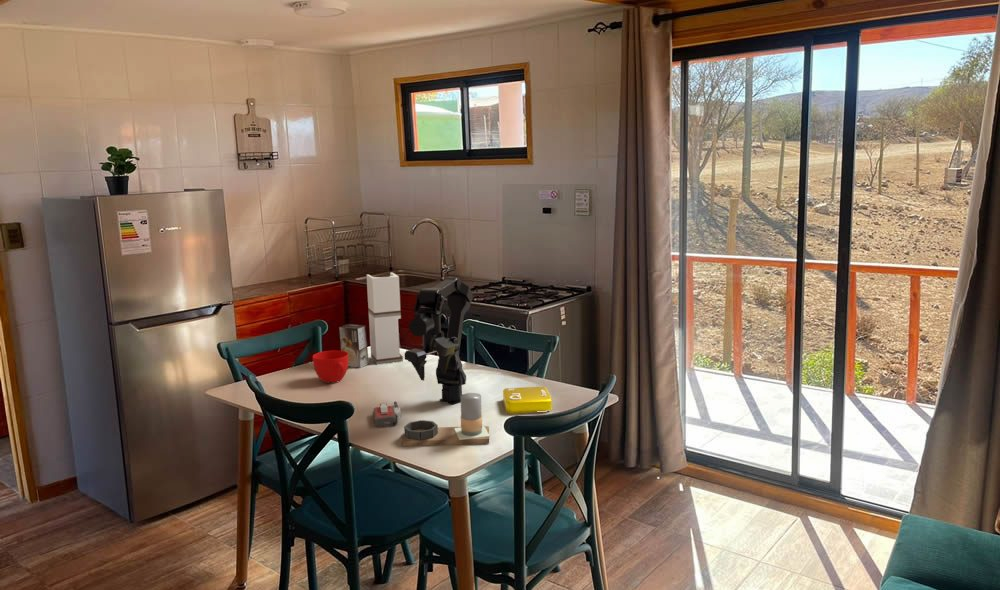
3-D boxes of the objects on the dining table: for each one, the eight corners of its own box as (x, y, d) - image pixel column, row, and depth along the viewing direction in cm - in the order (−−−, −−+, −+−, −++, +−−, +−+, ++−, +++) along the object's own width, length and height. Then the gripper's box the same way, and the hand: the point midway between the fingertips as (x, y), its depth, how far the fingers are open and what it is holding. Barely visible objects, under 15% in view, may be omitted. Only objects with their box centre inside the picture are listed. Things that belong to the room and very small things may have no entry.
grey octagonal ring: (422, 425, 223) (421, 417, 222) (444, 433, 216) (444, 424, 216) (397, 435, 216) (397, 426, 215) (420, 442, 209) (419, 434, 209)
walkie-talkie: (403, 427, 227) (398, 405, 246) (403, 413, 226) (398, 393, 246) (375, 429, 225) (372, 408, 245) (374, 416, 225) (371, 395, 244)
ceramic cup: (327, 390, 263) (325, 363, 261) (308, 380, 276) (307, 354, 274) (360, 383, 270) (358, 357, 268) (341, 373, 284) (339, 348, 282)
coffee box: (369, 363, 296) (367, 325, 293) (360, 368, 290) (358, 328, 287) (350, 361, 300) (348, 323, 297) (341, 366, 294) (338, 326, 291)
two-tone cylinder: (465, 426, 220) (464, 391, 218) (485, 429, 218) (484, 393, 216) (457, 434, 214) (456, 398, 212) (478, 437, 212) (477, 400, 210)
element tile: (552, 413, 237) (552, 399, 236) (506, 415, 235) (506, 401, 235) (546, 398, 251) (546, 384, 250) (502, 400, 250) (502, 386, 249)
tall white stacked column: (402, 361, 299) (398, 276, 292) (377, 364, 295) (372, 278, 288) (396, 354, 309) (392, 272, 302) (371, 357, 305) (366, 274, 299)
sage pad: (454, 428, 219) (454, 428, 219) (483, 425, 221) (483, 425, 221) (459, 439, 211) (459, 439, 211) (490, 436, 213) (490, 435, 213)
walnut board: (402, 445, 211) (402, 441, 211) (406, 433, 221) (405, 428, 221) (489, 443, 212) (489, 438, 211) (489, 430, 221) (488, 426, 221)
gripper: (427, 338, 218) (429, 389, 221) (470, 326, 231) (472, 374, 234) (402, 333, 225) (404, 382, 228) (445, 322, 239) (447, 368, 242)
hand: (433, 376), depth 233 cm, fingers open, 9 cm apart
